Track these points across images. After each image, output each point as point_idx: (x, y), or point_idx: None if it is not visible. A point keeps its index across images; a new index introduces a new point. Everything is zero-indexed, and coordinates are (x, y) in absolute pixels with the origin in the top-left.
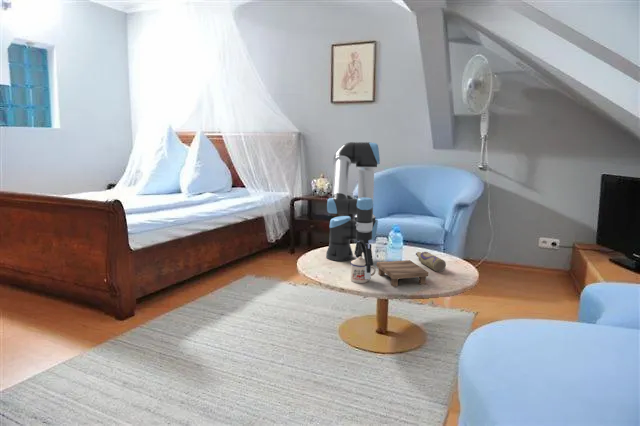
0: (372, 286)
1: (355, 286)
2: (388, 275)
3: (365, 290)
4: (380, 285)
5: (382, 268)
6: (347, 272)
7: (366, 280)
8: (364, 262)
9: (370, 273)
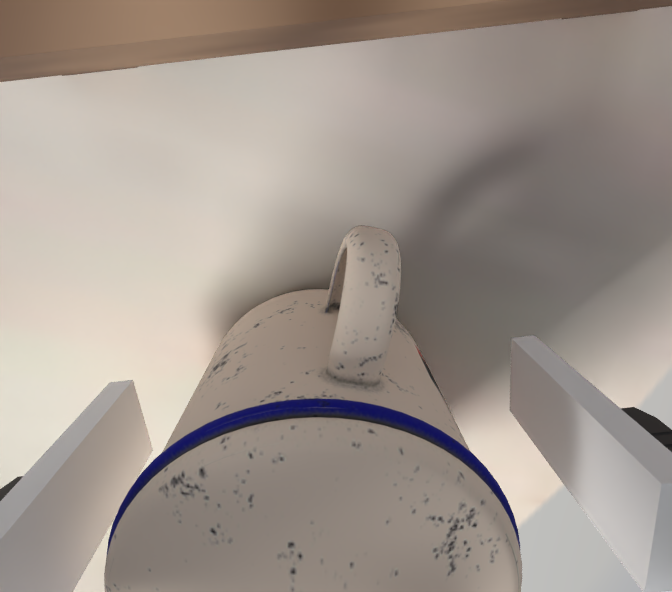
0: (547, 290)
1: (501, 460)
2: (591, 12)
3: (641, 390)
4: (539, 182)
5: (264, 39)
6: (27, 465)
7: (413, 341)
8: (455, 579)
9: (581, 379)
